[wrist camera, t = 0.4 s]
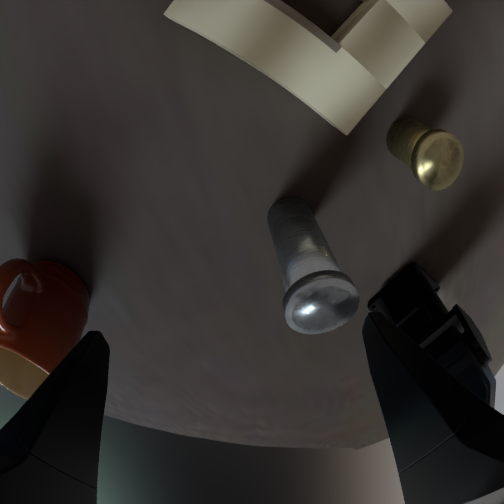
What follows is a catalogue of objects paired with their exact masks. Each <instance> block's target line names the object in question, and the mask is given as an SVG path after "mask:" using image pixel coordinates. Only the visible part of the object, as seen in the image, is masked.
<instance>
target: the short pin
mask: <svg viewBox="0 0 504 504" xmlns="http://www.w3.org/2000/svg"><path fill="white" fill-rule="evenodd" d="M387 146H388V149H389V151H390V153H391V154H392V155H393V156H394V157H396V158H397V159H399V160H400V161H401V162H403V163H404V164H405V165H407V166H408V167H409V168H410V169H412V171H413V174H414V175H415V177H416V178H417V179H418V180H419V181H420V182H421V183H422V184H423V185H425V186H426V187H427V188H429V189H431V190H442V189H445V188H447V187H448V186H450V185H451V184H452V183H453V182H454V181H455V180H456V179H457V177H458V175H459V174H460V172H461V169H462V166H463V160H464V153H463V148H462V145H461V143H460V141H459V140H458V139H457V138H456V137H455V136H454V135H452V134H450V133H449V132H447V131H445V130H442V129H431V128H429V127H427V126H425V125H423V124H421V123H419V122H417V121H415V120H413V119H410V118H401V119H399V120H397V121H395V122H394V123H393V124H392V125H391V127H390V129H389V131H388V134H387Z"/></svg>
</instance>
